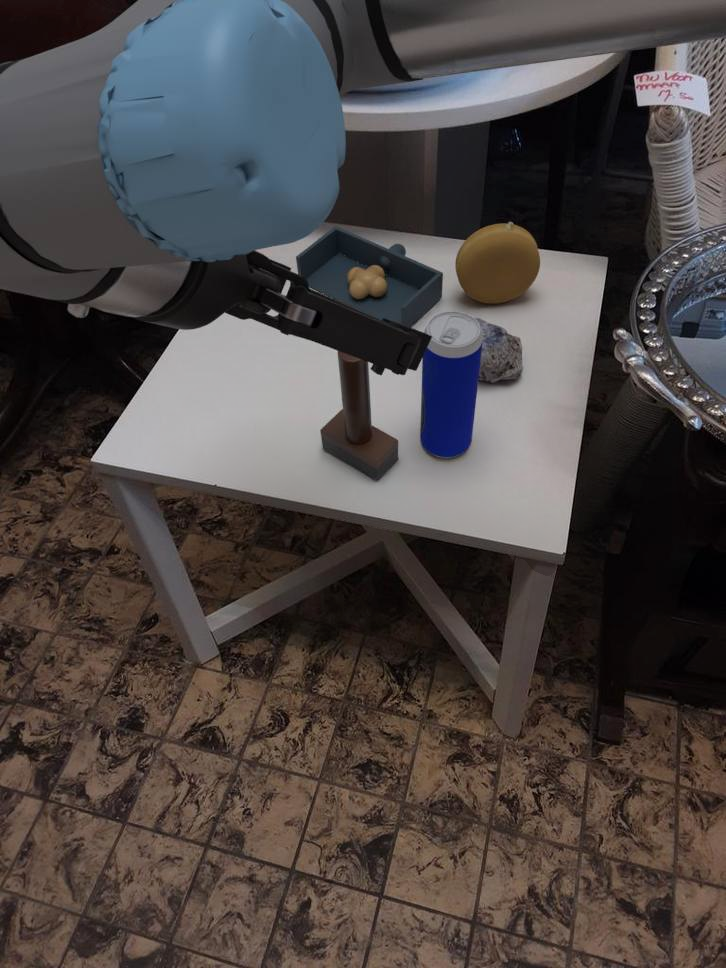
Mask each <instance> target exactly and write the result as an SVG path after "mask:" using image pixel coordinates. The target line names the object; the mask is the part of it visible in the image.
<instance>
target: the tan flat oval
mask: <svg viewBox="0 0 726 968" xmlns="http://www.w3.org/2000/svg"><path fill="white" fill-rule="evenodd" d="M454 267H455V273H456V277H457V279H458V283H459V285H460V288H461V290H463V292H464V293H465V294H466V295H467V296H468V297H470V298H471V299H473V300H475V301H477V302H479V303H483V304H500V303H505V302H509V301H512V300H514V299H516V298H518V297H520V296H521V295H523V294H524V293H525V292H526V291H527V290H528V289H530V287H531V286H532V285H533V283H534V282H535V281H536V279H537V277H538V275H539V272H540V269H541V255H540V252H539V248H538V244H537V242H536V240H535V238H534V237H533V235H532V234H531V233H530V232H529V231H528V230H526V229H525V228H524V227H522V226H519V225H517V224H514V222H512V221H508V223H505V222H504V223H494V224H491V225H487V226H485V227H484V226H483V227H482V228H480V229H478V230H476V231H475V232H473V233H472V234H471V235H469V236H468V237H467V238H466V239H465V241H464V242H463V243H462V244H461V246H460V248H459V250H458V251H457V253H456V257H455V266H454Z"/></svg>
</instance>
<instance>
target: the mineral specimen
mask: <svg viewBox="0 0 726 968" xmlns="http://www.w3.org/2000/svg"><path fill="white" fill-rule="evenodd" d="M472 317H473V316H472ZM473 318H475V319H476V320H477V322H478V323H479V325H480V328H481V332H482V335H483V343H482V352H481V361H480V370H479V379H478V381H485V382H488V383H489V382H490V383H491V384H495V383H496V382H499V381H501V380H504V381H505V380H506V381H507V380H508V381H509V380H514V379H519V378H520V377H521V376H522V372H523V370H524V368H523V348H524V347H523V345H522V340H521V337H519V336H515V335H512V334H510V333H508V331H507V330H506V329H505V327H502V326H499V325H497V324H493V323H490V322H488V321H485V320H484V319H482V318H480V317H477V316H476V317H473Z"/></svg>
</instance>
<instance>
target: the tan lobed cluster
mask: <svg viewBox="0 0 726 968" xmlns="http://www.w3.org/2000/svg"><path fill="white" fill-rule="evenodd" d="M367 267H368V266H367ZM385 275H386V274H385V273H384V270H383V269H382V268H381V267H380V266H378V265H372V266H370V267H368V268H367V269H366V270H365V269H363V268H360V267H354V268H352V269H351V270H350V271H349V273H348V275H347V279H348V282H349V284H350V287H349V291H350V293H351V295H352V296H353V297H354V298H356V299H363V298H365V297H366V296H367V295H372V296H374V297H381V296H383V295H384V294H385V293H386V291H387V282H386V281H385V279H384V278H385Z"/></svg>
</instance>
